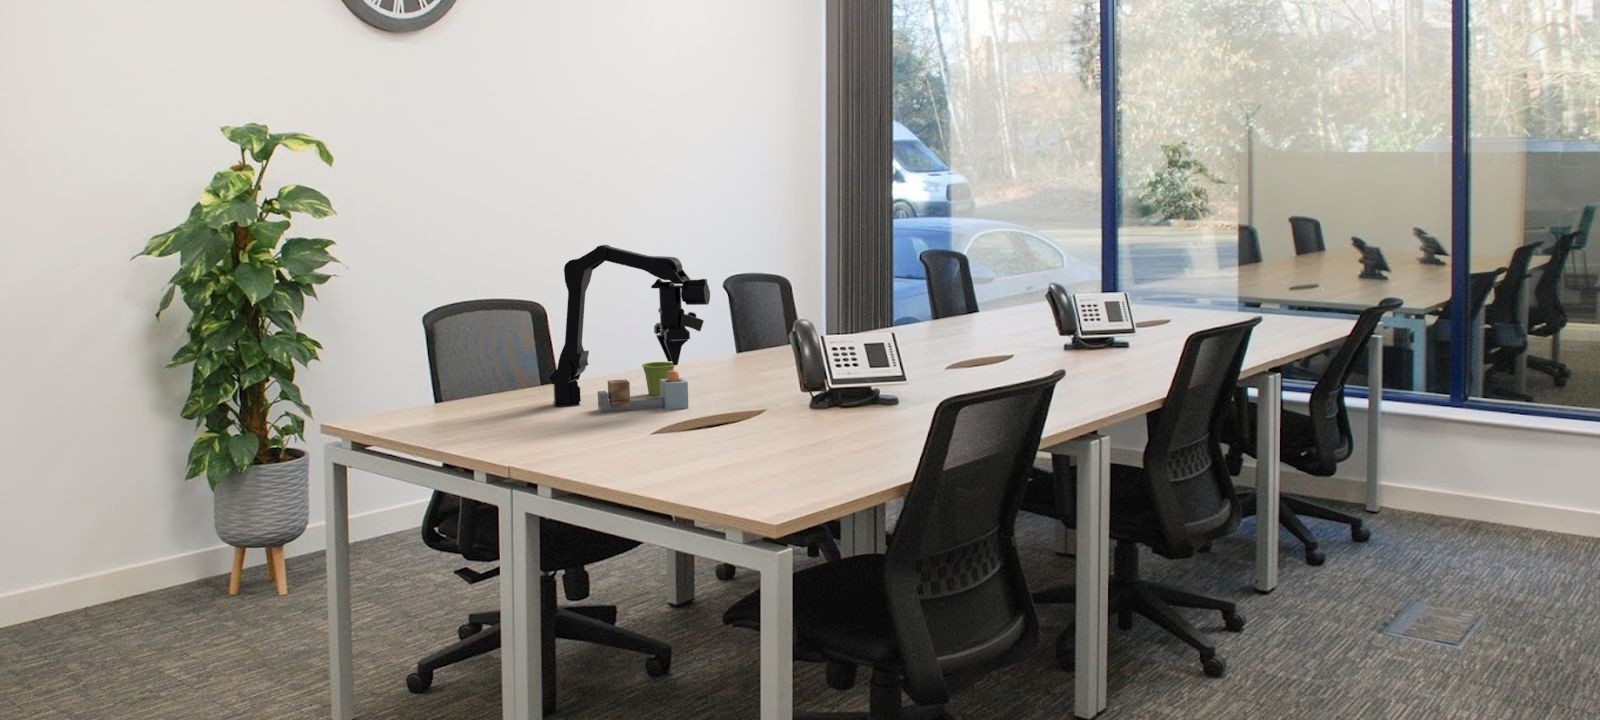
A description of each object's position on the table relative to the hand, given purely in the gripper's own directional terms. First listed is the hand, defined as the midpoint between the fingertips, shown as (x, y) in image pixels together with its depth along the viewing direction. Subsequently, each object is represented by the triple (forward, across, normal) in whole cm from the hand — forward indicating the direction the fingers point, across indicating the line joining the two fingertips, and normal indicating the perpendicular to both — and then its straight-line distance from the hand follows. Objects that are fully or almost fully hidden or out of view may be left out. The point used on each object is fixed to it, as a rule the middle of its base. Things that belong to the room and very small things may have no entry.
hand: (672, 363), depth 366 cm
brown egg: (+6, 0, 0) cm, 6 cm away
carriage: (+10, 0, +15) cm, 18 cm away
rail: (+12, 0, +10) cm, 15 cm away
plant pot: (+12, +21, 0) cm, 24 cm away
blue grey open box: (+12, 0, 0) cm, 12 cm away
